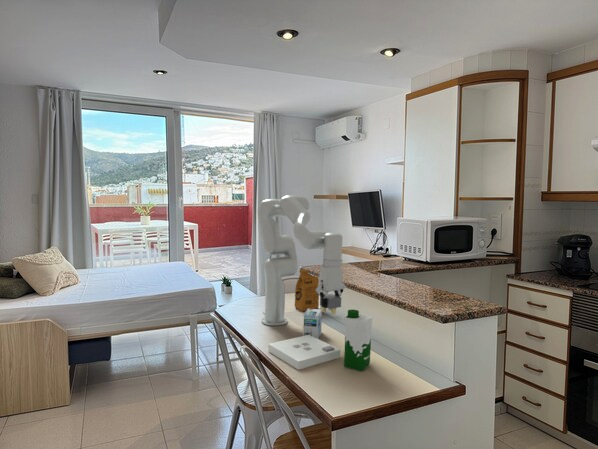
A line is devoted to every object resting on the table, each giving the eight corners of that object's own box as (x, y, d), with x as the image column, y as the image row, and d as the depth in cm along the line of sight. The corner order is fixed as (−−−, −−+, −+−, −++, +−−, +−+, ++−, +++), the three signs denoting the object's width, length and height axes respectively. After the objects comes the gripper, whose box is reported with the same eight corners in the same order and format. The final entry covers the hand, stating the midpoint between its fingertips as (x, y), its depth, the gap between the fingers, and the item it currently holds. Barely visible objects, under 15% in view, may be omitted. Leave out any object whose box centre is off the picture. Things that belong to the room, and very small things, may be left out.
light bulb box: (318, 340, 168) (318, 315, 168) (302, 339, 170) (303, 314, 169) (321, 332, 179) (322, 309, 178) (307, 331, 180) (307, 307, 179)
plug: (319, 311, 163) (320, 295, 163) (330, 308, 167) (331, 293, 166) (329, 315, 158) (330, 299, 158) (340, 312, 162) (341, 297, 161)
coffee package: (292, 307, 219) (293, 268, 217) (311, 305, 225) (312, 267, 223) (301, 312, 210) (302, 271, 209) (320, 309, 216) (321, 269, 215)
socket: (268, 351, 155) (268, 341, 155) (308, 341, 167) (308, 332, 166) (298, 369, 139) (298, 359, 138) (340, 357, 151) (340, 347, 150)
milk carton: (350, 358, 149) (352, 307, 148) (373, 364, 145) (375, 311, 143) (340, 367, 142) (342, 312, 141) (363, 373, 137) (365, 317, 136)
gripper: (341, 260, 169) (339, 301, 171) (309, 263, 159) (308, 306, 160) (353, 263, 163) (351, 305, 164) (321, 266, 153) (319, 311, 154)
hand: (330, 305), depth 162 cm, fingers closed on plug, 6 cm apart
